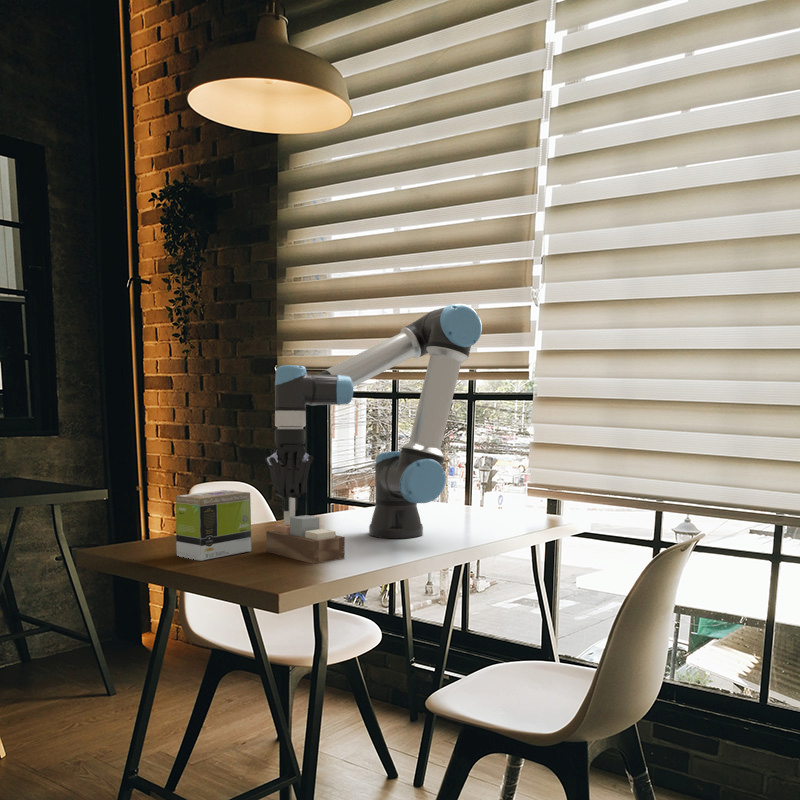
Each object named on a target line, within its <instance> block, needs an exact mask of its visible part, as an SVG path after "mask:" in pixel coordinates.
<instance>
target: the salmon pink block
mask: <svg viewBox="0 0 800 800" xmlns="http://www.w3.org/2000/svg"><path fill="white" fill-rule="evenodd" d="M274 530H275V531H277V532H281V533H286V534H288V533H290V525H287V524H284V523H281V524H275V529H274Z"/></svg>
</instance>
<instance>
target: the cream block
mask: <svg viewBox="0 0 800 800" xmlns="http://www.w3.org/2000/svg"><path fill="white" fill-rule="evenodd" d="M335 535H336V531H335V530H330V529H324V528H319V529H318V530H310V531H305V538H309V539H313V540H324V539H331V538H335Z"/></svg>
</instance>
